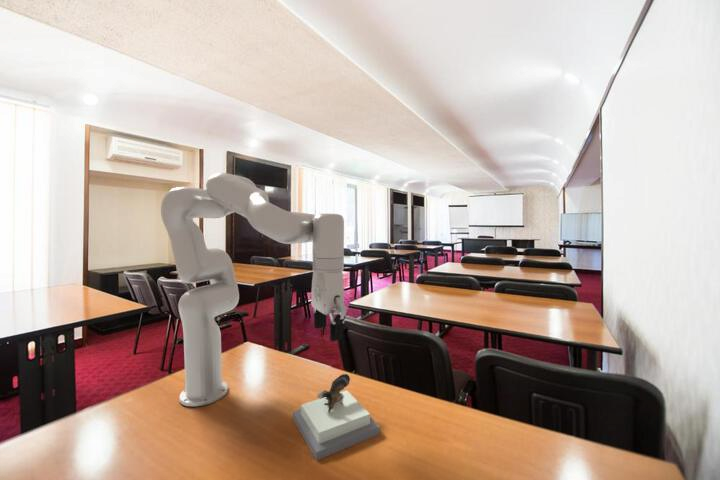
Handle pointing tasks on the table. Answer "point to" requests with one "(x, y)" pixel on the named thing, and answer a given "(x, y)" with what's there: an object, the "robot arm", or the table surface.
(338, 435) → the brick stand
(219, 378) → the robot arm
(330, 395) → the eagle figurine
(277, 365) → the table surface
